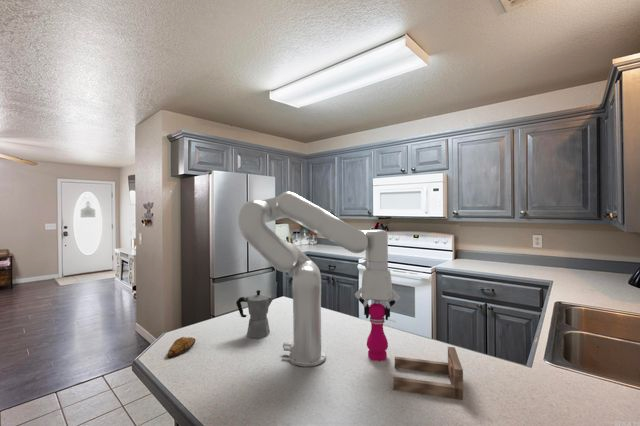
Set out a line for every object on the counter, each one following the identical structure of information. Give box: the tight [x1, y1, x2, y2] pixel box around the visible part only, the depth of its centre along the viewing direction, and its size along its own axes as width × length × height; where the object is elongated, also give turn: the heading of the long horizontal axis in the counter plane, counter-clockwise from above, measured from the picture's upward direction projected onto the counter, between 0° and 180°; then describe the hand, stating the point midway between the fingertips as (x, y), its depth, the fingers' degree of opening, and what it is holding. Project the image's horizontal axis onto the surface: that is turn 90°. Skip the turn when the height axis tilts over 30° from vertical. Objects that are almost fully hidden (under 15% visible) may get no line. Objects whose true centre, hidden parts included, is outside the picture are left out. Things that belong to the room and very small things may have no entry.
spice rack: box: [392, 346, 464, 401], centre depth 89 cm, size 18×14×8 cm
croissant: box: [166, 336, 196, 359], centre depth 111 cm, size 14×7×5 cm, turn 165°
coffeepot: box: [236, 289, 275, 339], centre depth 125 cm, size 15×9×18 cm, turn 103°
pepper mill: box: [366, 300, 389, 362], centre depth 104 cm, size 7×7×20 cm
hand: (377, 317), depth 104 cm, fingers closed on pepper mill, 6 cm apart
